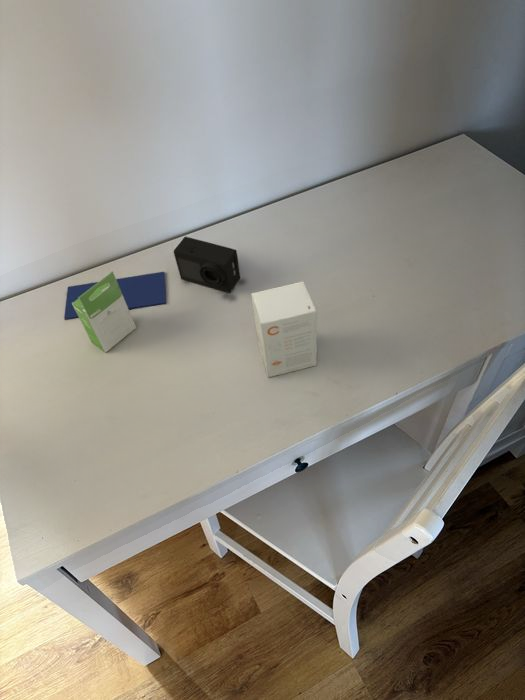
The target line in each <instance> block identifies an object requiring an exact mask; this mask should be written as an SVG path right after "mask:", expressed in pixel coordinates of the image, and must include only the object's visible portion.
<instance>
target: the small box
mask: <svg viewBox="0 0 525 700" xmlns="http://www.w3.org/2000/svg"><path fill="white" fill-rule="evenodd" d="M251 302H252V308H253V315H254V323H255V331H256V337H257V344H258V350H259V352H260V355H261V359H262V363H263V365H264V368H265V371H266V372H265V373H266V374H267V375H266V376H267V377H268V378H272V377H277V376H279V375H285V374H288V373H291V372H297V371H300V370H304V369H307V368H311V367H316V366H317V355H318V354H317V349H318V348H317V308H316V307H315V304H314V302H313V301H312V298H311V296H310V293H309V291H308V289H307V286H306V284H305V282H304V281H303V280H302V281H298V282H294V283H290V284H285V285H281V286H277V287H273V288H269V289H265V290H261V291H255V292H252V293H251Z"/></svg>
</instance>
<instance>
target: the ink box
mask: <svg viewBox="0 0 525 700" xmlns="http://www.w3.org/2000/svg"><path fill="white" fill-rule="evenodd" d="M116 279H117V278H116V276H115V274H114V271H110V272H109V273H108V274H107V275H106V276H104V277H103V278H101V279H100V280H99V281H97V282H98V283H97V284H95V285H94V286H93V287H92V288H90V289H89V290H87V291H86V292H85V293H84V294H82V295H81V296H80V297H78V298H79V299H77V300H76V301H75V302H73V303H72V305H73V307H74V309H75V311H76V313H77V314H78V316H79V318H78V319H79V320H80V322H81V324H82V327H83V329H84V331H85V333H86V335H87V336H88V338H89V340H90V342H91V343H92V344H93V345H94V346H96V347H97V348H98V349H100V350H101V351H102V352H104V353H107V352H108V351H110V350H111V349H112V348H113V347H115V346H116V345H117V344H118V343H120V342H121V341H122V340H123V339H125V337H127V336H128V335H129V334H131V333H132V332H133V331H135V329H137V326H136V324H135V321H134V318H133V317H132V314H131V312H130V310H129V309H128V307H127V304H126V302H125V300H124V297H123V295H122V292H121V290H120V288H119V285H118V283H117V280H116Z"/></svg>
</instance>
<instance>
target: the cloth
mask: <svg viewBox="0 0 525 700" xmlns="http://www.w3.org/2000/svg"><path fill="white" fill-rule="evenodd" d="M165 275H166V274H165V271H158V272H152V273H145V274H141V275H133V276H126V277H120V278H116V280H117V283H118V285H119V288H120V290H121V292H122V295H123V297H124V300H125V302H126V304H127V307H128V309H129V311H130V310H134V309H135V310H136V309H141V308H147V307H154V306H161V305H166V304H167V296H166V276H165ZM98 282H99V281H95V282H89V283H83V284H77V285H70V286H67V289H66V290H67V291H66V298H65V307H64V316H63V317H64V318H63V319H64V320H65V321H67V320H74V319H79V316H78V314H77V313H76V311H75V309H74V307H73V305H72V303H73V302H75V301H76V300H77V299H79V298H78V297H80V296H81V295H82V294H84V293H85V292H86V291H87V290H89V289H90V288H92V287H93V286H94V285H95V284H97V283H98Z"/></svg>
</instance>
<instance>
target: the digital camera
mask: <svg viewBox="0 0 525 700" xmlns="http://www.w3.org/2000/svg"><path fill="white" fill-rule="evenodd" d="M173 256H174V259H175V263H176V266H177V269H178V273H179V277H180V280H183V281H185V282H189V283H192V284H195V285H199V286H202V287H206V288H209V289H212V290H216V291H220V292H223V293H227V294H231V293H232V292H233V290H234V288H235V287H236V285H237V284H238V283H239V281H240V279H241V273H240V266H239V265H240V264H239V259H238V252H237V249H235V248H231V247H227V246H223V245H220V244H216V243H213V242H208V241H205V240H201V239H197V238H193V237H188V236H184V237H183V238H182V239H181V241H180V242H179V243H178V245H177V246H176V247H175V248H174V250H173Z"/></svg>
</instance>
